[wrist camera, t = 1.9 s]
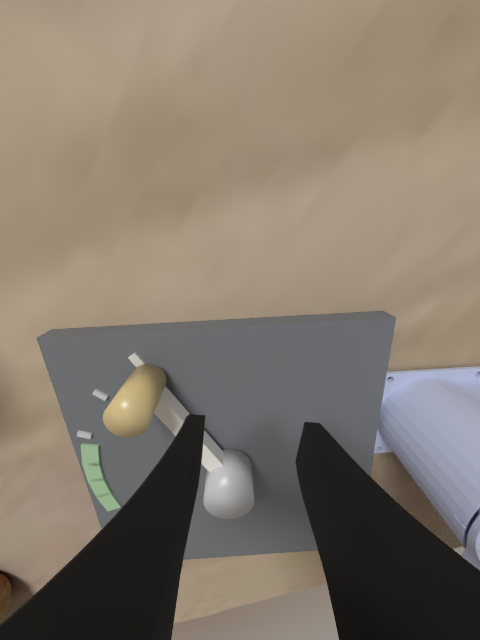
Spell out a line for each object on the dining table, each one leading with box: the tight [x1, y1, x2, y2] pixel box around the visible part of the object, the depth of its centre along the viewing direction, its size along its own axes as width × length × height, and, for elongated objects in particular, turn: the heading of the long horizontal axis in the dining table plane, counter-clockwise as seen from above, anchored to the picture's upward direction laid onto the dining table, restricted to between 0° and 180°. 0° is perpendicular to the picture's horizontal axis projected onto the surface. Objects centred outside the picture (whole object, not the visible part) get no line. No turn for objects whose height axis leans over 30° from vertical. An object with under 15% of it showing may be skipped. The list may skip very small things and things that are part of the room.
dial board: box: [37, 311, 396, 560], centre depth 21 cm, size 24×24×2 cm
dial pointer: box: [103, 364, 254, 519], centre depth 17 cm, size 13×4×4 cm, turn 33°
